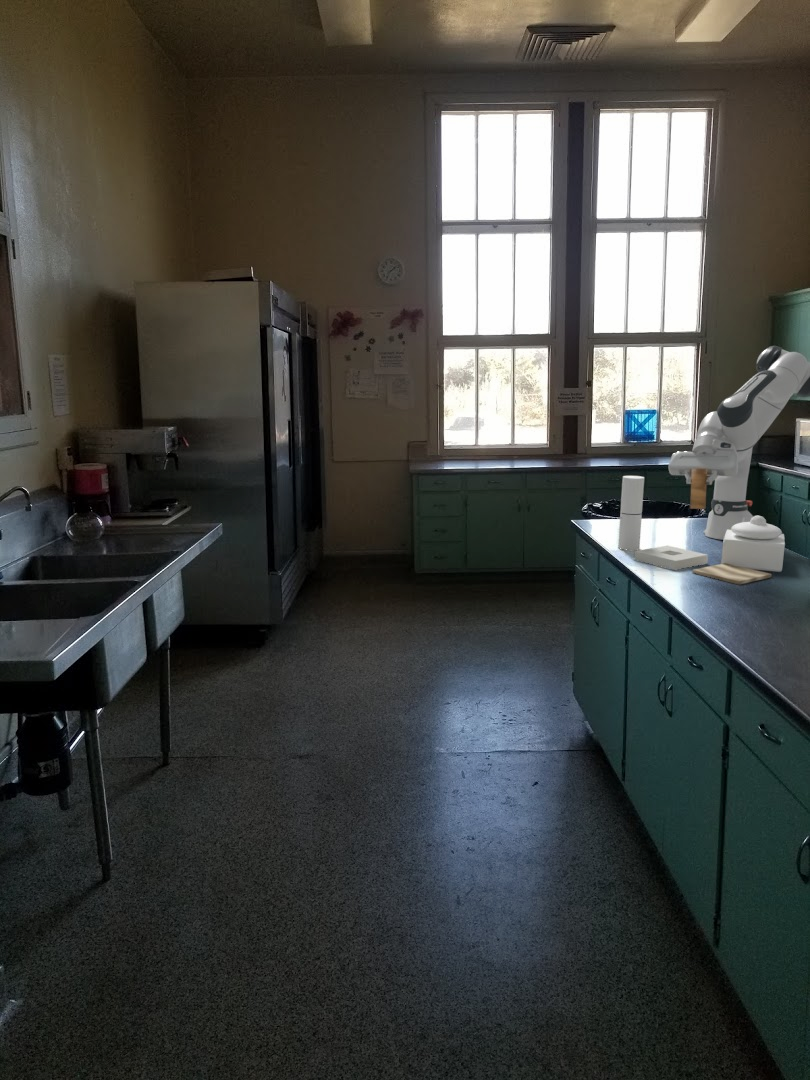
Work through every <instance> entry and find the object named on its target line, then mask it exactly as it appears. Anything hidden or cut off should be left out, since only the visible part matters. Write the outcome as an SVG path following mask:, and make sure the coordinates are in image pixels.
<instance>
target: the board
mask: <svg viewBox="0 0 810 1080" xmlns="http://www.w3.org/2000/svg"><path fill="white" fill-rule="evenodd" d="M692 572H693V573H692V574H695V573H696V574H695V575H699V576H703V577H706V576H707V578H710V577H711V578H710V579H714V578H715V580H718V579H719V580H718V581H723V582H726V583H730V584H735V585H743V584H748V583H752V582H756V581H760V580H765V579H769V578H772V573H768V572H764V571H762V570H757V569H748V568H744V567H739V566H735V565H731V564H726V563H724V564H721V563H720V564H715V565H710V566H703V567H701V568H700V567H699V568H694V569H692Z"/></svg>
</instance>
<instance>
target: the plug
mask: <svg viewBox="0 0 810 1080" xmlns="http://www.w3.org/2000/svg"><path fill="white" fill-rule="evenodd" d="M707 477H708V476H707V469H692V475H691V484H690V500H689V501H690V503H689V509H691V510H692V509H695V510H699V509H700V510H702V509H703V510H705V509H706V503H707V484H706V479H707Z"/></svg>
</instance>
